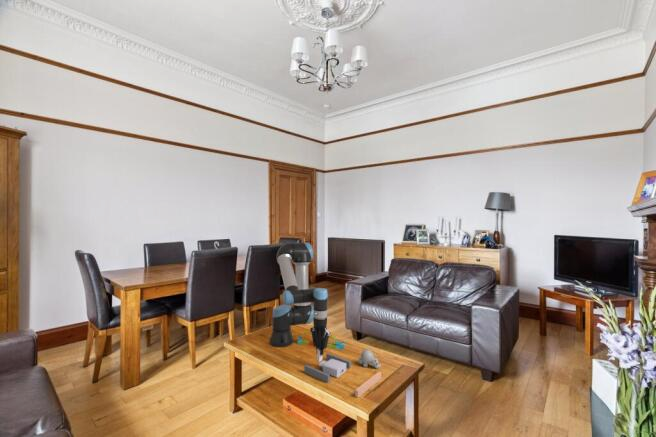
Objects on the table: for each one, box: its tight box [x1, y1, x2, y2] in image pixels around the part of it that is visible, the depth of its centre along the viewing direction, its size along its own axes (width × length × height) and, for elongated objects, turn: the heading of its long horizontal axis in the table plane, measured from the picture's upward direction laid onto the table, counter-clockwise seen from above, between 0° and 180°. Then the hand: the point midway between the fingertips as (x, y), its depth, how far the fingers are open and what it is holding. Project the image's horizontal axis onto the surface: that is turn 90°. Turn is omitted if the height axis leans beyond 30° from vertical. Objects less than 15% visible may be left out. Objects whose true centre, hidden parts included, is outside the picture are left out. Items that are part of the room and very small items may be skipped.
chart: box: [297, 329, 346, 350], centre depth 196 cm, size 30×3×15 cm, turn 76°
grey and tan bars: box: [303, 352, 382, 398], centre depth 159 cm, size 34×22×4 cm, turn 51°
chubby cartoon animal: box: [357, 349, 381, 370], centre depth 169 cm, size 7×12×8 cm, turn 56°
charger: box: [317, 359, 347, 378], centre depth 164 cm, size 5×9×15 cm
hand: (319, 360), depth 168 cm, fingers closed
